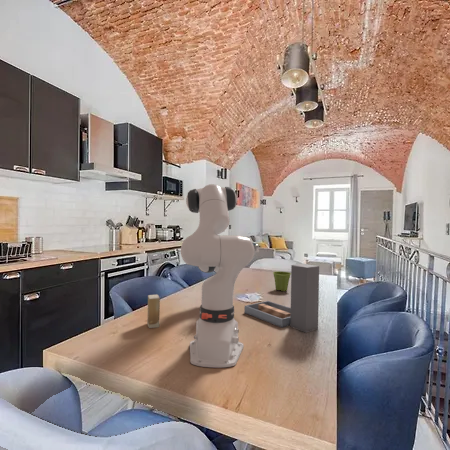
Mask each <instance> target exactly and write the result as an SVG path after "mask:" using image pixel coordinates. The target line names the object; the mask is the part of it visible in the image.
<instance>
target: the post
mask: <svg viewBox="0 0 450 450" xmlns="http://www.w3.org/2000/svg"><path fill="white" fill-rule="evenodd" d="M290 266H291V267H290V268H291V271H290V273H291V275H290V308H291V317H290V326H289V327H291V328H293V329H296V330H298V331H301V332H303V333H309V332H311V331H315V330H317V329H319V306H320V305H319V299H320V298H319V295H320V265H315V264H307V263H299V264H298V263H297V264H292V265H290Z"/></svg>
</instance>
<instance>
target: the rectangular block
mask: <svg viewBox="0 0 450 450" xmlns="http://www.w3.org/2000/svg"><path fill="white" fill-rule="evenodd" d="M258 310H259V311H262V312H265V313H268V314H270V315H273V316H276V317H279V318H281V319H283V318H287V317H290V313H288V312H285V311H282V310H280V309H277V308H274V307H271V306H268V305H265V304H259V305H258Z"/></svg>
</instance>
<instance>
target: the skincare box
mask: <svg viewBox="0 0 450 450" xmlns="http://www.w3.org/2000/svg"><path fill="white" fill-rule="evenodd" d="M160 304H161V297H160V296H159V294H148V295H147V317H146V318H147V324H146V325H147V327H148V328H149V329H153V328H154V329H155V328H160V313H161V312H160V308H161V305H160Z"/></svg>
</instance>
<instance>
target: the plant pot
mask: <svg viewBox="0 0 450 450" xmlns="http://www.w3.org/2000/svg"><path fill="white" fill-rule="evenodd" d="M272 275H273V277H274V285H275V290H276V291H277V290H281V291H280V292H286V291H285V290H287V291H288V287H289V282H290V279H291V272H289V271H273V272H272Z"/></svg>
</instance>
